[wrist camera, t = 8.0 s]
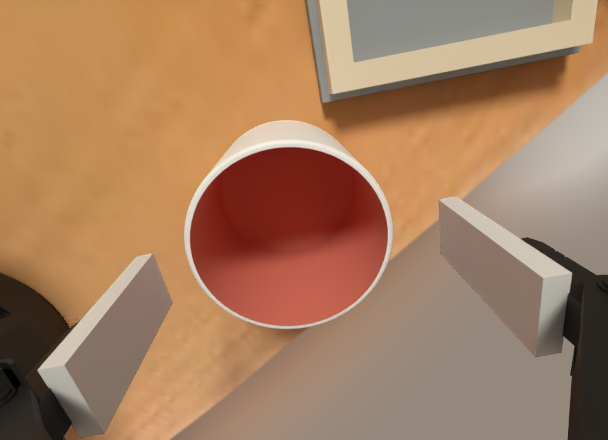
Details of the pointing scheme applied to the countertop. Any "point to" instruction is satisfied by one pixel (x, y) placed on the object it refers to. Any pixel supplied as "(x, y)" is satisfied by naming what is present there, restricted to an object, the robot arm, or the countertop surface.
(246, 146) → the cup
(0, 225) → the countertop surface
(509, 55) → the tray
